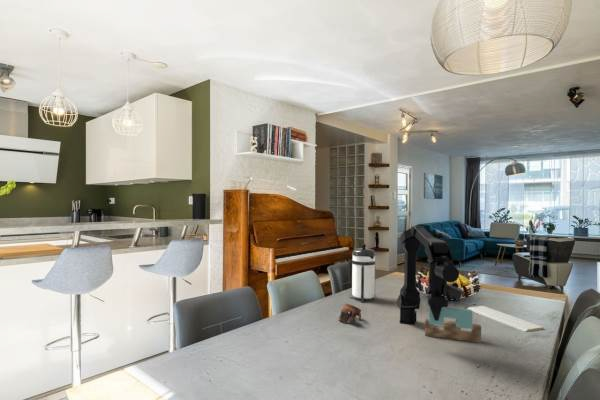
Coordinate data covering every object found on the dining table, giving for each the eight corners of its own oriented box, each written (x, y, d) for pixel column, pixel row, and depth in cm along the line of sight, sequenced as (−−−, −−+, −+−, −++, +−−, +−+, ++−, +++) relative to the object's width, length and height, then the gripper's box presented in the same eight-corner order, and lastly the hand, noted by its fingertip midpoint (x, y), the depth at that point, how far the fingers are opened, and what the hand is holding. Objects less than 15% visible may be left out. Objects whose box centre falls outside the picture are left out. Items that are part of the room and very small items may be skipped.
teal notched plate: (429, 323, 125) (429, 307, 125) (428, 321, 128) (429, 305, 128) (472, 329, 121) (472, 311, 121) (471, 326, 123) (471, 309, 123)
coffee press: (378, 296, 195) (379, 242, 195) (375, 304, 180) (376, 246, 180) (348, 293, 201) (348, 241, 201) (342, 300, 186) (343, 244, 186)
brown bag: (334, 319, 157) (341, 302, 160) (352, 328, 158) (359, 310, 161) (343, 321, 146) (350, 302, 149) (363, 330, 147) (369, 312, 150)
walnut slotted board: (425, 335, 138) (425, 320, 138) (424, 333, 140) (425, 318, 140) (481, 342, 132) (481, 326, 132) (480, 340, 134) (480, 324, 134)
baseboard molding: (522, 333, 143) (543, 330, 147) (522, 326, 143) (543, 323, 147) (464, 310, 173) (482, 308, 177) (464, 304, 173) (483, 303, 177)
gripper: (464, 283, 114) (464, 331, 114) (458, 273, 132) (457, 314, 132) (428, 280, 118) (428, 327, 118) (427, 270, 136) (426, 310, 136)
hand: (436, 319), depth 126 cm, fingers closed on teal notched plate, 2 cm apart
